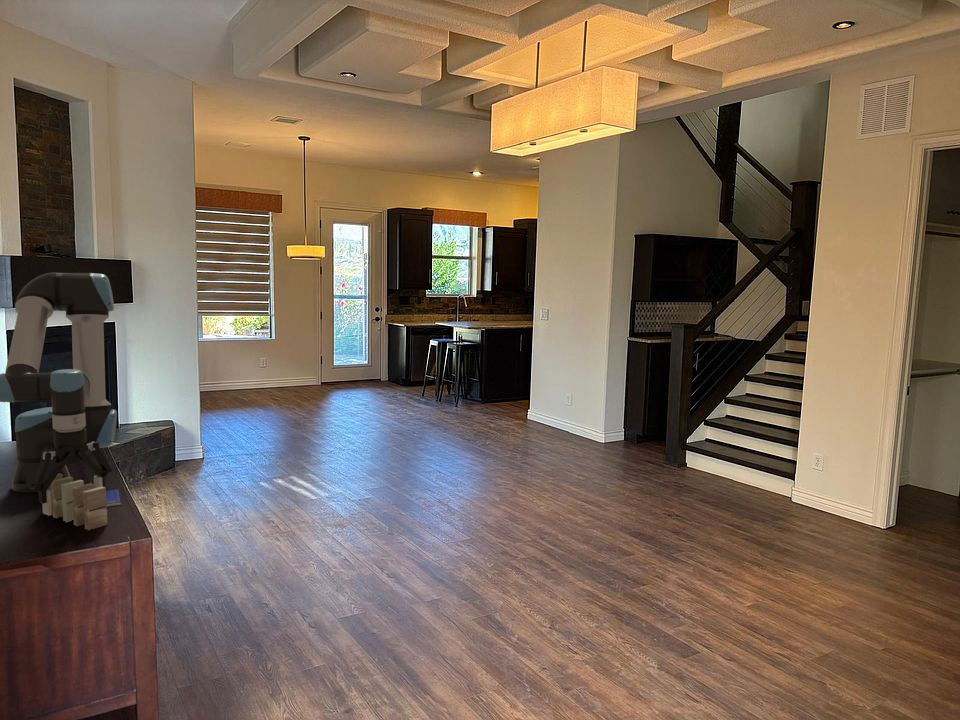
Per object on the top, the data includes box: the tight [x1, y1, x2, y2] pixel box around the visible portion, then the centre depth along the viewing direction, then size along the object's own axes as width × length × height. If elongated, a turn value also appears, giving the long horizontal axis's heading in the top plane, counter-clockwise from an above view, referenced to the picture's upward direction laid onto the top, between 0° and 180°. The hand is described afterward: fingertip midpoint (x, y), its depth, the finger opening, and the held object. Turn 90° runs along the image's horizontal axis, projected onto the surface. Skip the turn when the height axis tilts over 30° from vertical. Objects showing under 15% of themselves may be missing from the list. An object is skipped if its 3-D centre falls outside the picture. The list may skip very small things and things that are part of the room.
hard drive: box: [106, 489, 122, 507], centre depth 202 cm, size 2×8×12 cm
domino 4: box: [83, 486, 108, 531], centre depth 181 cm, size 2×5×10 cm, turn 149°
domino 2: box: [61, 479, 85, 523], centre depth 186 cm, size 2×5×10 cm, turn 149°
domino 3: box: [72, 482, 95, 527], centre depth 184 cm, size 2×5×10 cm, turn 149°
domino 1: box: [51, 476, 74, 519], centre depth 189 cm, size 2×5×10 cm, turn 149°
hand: (74, 506), depth 187 cm, fingers open, 13 cm apart
